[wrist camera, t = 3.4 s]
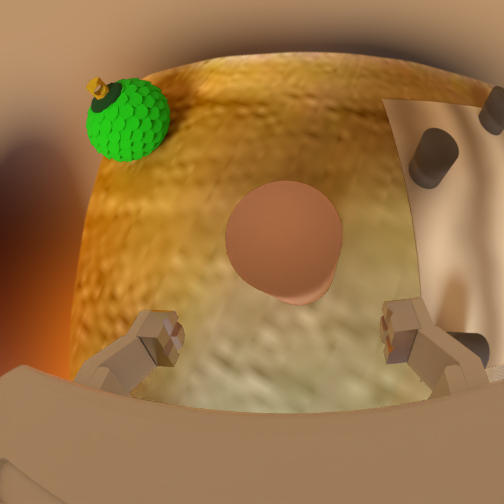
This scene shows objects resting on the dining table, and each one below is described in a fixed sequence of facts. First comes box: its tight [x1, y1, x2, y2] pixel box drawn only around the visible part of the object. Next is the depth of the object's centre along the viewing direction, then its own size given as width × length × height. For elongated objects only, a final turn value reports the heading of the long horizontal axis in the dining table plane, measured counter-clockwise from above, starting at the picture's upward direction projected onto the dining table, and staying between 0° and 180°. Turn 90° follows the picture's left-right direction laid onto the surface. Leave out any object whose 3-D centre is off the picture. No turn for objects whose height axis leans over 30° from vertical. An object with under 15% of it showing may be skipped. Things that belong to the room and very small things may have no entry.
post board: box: [382, 86, 504, 382], centre depth 16 cm, size 14×24×5 cm, turn 1°
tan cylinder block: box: [225, 181, 342, 305], centre depth 16 cm, size 5×5×9 cm
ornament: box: [86, 77, 171, 162], centre depth 22 cm, size 8×8×10 cm
